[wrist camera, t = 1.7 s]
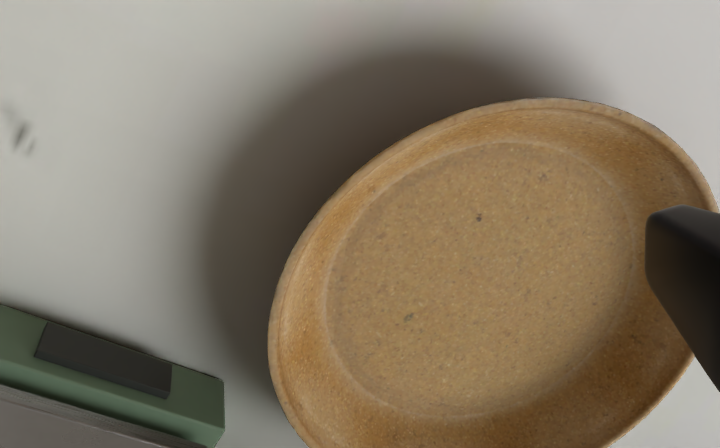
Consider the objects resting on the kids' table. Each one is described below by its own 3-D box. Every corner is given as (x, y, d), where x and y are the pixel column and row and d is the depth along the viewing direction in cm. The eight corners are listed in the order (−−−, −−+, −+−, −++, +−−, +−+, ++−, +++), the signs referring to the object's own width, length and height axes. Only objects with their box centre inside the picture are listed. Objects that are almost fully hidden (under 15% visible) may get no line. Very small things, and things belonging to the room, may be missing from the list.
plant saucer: (407, 504, 28) (425, 560, 25) (163, 260, 21) (158, 308, 18) (725, 306, 26) (775, 347, 24) (578, -30, 19) (629, -17, 17)
